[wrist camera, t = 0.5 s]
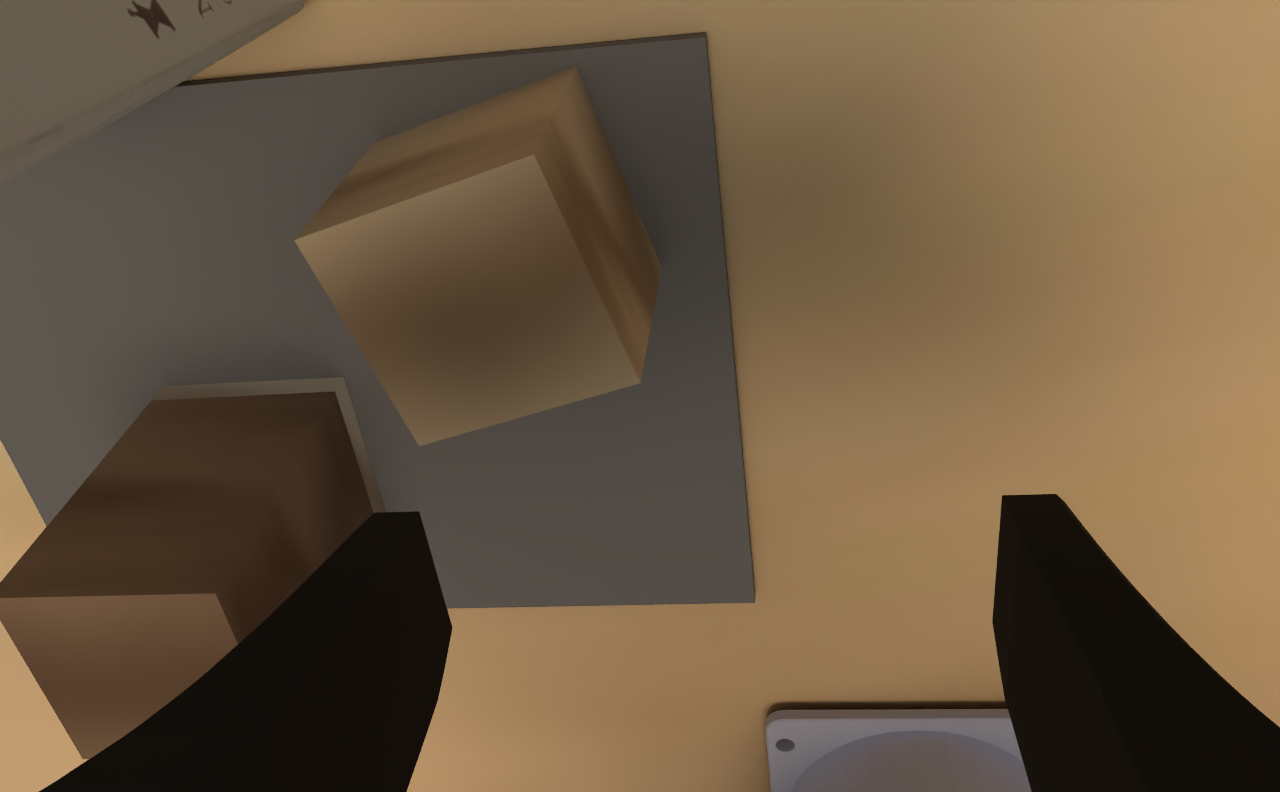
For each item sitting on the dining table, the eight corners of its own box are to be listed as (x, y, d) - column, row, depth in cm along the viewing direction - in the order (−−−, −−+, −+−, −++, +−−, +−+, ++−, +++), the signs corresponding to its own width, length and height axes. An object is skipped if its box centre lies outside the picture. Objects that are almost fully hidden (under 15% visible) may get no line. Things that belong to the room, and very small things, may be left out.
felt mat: (755, 594, 28) (754, 602, 28) (99, 607, 31) (93, 615, 30) (706, 32, 20) (705, 36, 20) (-160, 114, 23) (-170, 119, 23)
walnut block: (390, 526, 28) (289, 759, 22) (224, 531, 28) (83, 759, 22) (343, 376, 25) (215, 593, 19) (164, 385, 26) (-13, 598, 20)
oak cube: (661, 266, 23) (640, 383, 19) (472, 326, 24) (419, 446, 20) (575, 66, 21) (534, 153, 17) (373, 142, 22) (294, 240, 18)
